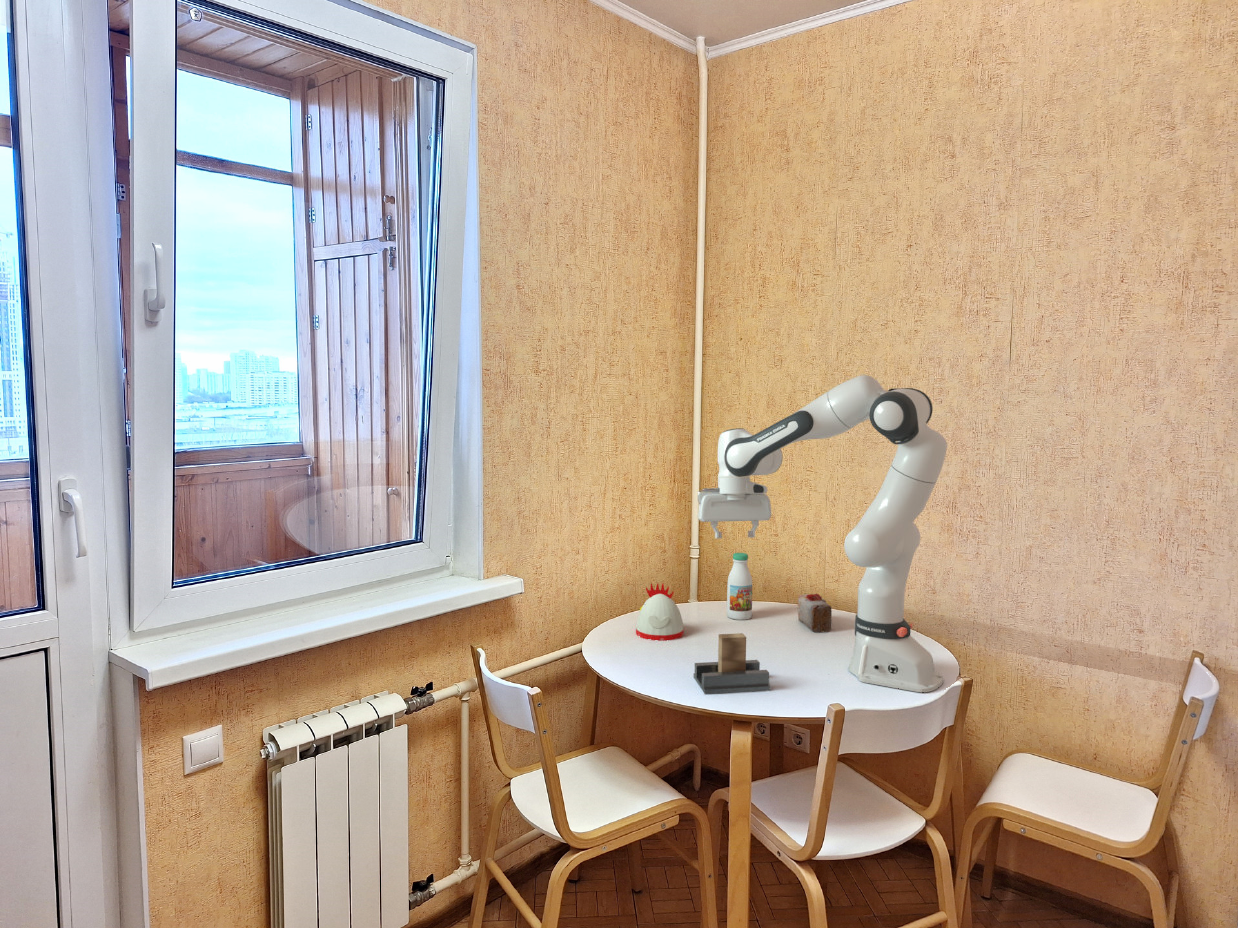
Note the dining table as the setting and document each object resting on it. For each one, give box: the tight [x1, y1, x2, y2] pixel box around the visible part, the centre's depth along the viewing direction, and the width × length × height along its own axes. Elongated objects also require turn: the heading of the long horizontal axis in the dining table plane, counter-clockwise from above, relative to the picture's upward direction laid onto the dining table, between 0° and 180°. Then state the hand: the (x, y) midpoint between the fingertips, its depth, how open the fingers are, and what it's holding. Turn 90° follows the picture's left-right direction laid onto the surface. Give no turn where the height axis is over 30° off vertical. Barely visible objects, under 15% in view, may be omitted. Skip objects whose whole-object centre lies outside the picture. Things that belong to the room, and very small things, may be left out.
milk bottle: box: [726, 552, 753, 621], centre depth 250 cm, size 8×8×20 cm
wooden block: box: [717, 632, 747, 672], centre depth 195 cm, size 6×3×11 cm, turn 99°
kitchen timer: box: [635, 582, 685, 642], centre depth 234 cm, size 14×14×15 cm
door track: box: [693, 659, 771, 695], centre depth 195 cm, size 16×11×4 cm
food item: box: [796, 593, 833, 633], centre depth 242 cm, size 14×8×10 cm, turn 7°
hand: (735, 537), depth 222 cm, fingers open, 8 cm apart
